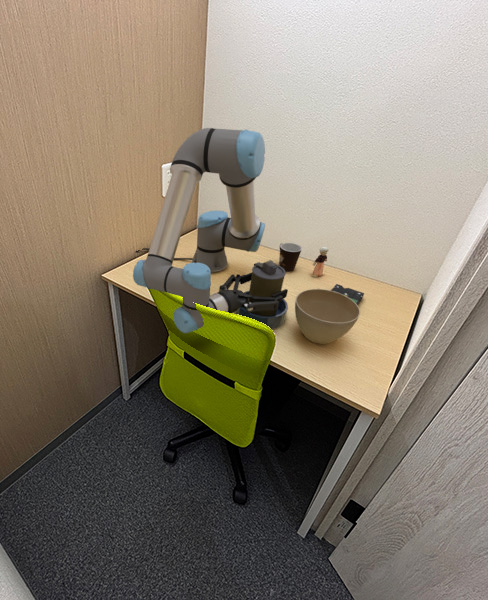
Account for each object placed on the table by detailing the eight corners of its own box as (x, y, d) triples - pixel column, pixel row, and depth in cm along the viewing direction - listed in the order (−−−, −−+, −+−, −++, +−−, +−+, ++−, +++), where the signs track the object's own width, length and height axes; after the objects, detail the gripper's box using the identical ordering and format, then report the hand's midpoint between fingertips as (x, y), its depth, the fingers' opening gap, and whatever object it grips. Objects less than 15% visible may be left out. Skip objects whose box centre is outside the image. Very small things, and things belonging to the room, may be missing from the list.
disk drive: (334, 289, 130) (320, 306, 121) (335, 283, 129) (322, 299, 119) (362, 299, 125) (350, 317, 115) (364, 292, 123) (353, 310, 114)
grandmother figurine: (316, 279, 136) (324, 251, 129) (308, 276, 138) (315, 248, 131) (326, 273, 140) (334, 245, 133) (317, 270, 143) (325, 242, 135)
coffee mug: (297, 274, 140) (302, 252, 134) (276, 272, 141) (280, 250, 135) (295, 261, 149) (300, 240, 143) (275, 259, 150) (279, 239, 145)
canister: (282, 317, 115) (294, 265, 104) (260, 327, 110) (270, 274, 99) (260, 301, 122) (268, 252, 111) (238, 310, 118) (245, 260, 107)
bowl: (229, 320, 114) (230, 308, 111) (244, 296, 126) (246, 285, 123) (278, 335, 107) (281, 323, 104) (289, 308, 119) (292, 297, 117)
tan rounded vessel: (357, 335, 107) (369, 304, 101) (332, 364, 97) (344, 331, 90) (305, 311, 118) (313, 282, 111) (277, 335, 107) (284, 304, 101)
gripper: (195, 295, 111) (242, 277, 121) (249, 336, 94) (298, 311, 104) (196, 276, 107) (244, 259, 117) (252, 315, 90) (303, 291, 100)
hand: (270, 283), depth 111 cm, fingers open, 13 cm apart
